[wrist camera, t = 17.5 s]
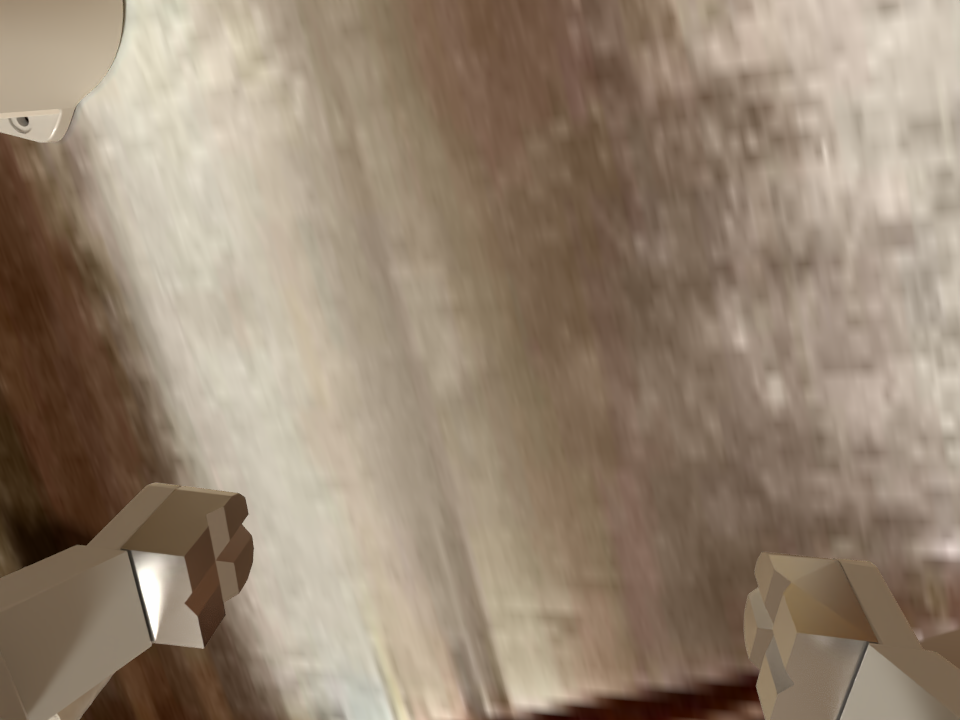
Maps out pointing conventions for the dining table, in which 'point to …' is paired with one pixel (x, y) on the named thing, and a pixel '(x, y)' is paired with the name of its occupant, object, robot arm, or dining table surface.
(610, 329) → the dining table surface
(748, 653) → the robot arm
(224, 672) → the dining table surface
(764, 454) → the dining table surface
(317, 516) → the dining table surface
